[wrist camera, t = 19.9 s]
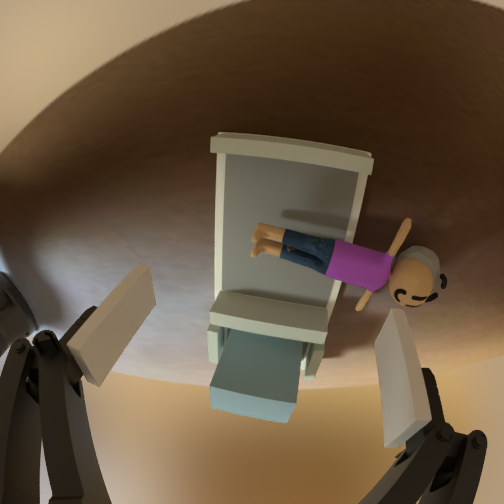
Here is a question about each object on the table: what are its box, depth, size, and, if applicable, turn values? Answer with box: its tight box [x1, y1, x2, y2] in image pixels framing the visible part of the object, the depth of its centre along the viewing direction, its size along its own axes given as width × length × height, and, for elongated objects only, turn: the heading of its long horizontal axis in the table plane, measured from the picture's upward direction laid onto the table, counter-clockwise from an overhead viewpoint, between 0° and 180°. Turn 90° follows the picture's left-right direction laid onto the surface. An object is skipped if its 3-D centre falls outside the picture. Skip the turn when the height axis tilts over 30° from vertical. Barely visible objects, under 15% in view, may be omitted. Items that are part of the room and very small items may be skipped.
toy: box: [251, 218, 447, 311], centre depth 19 cm, size 10×6×15 cm
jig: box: [207, 132, 374, 382], centre depth 23 cm, size 11×24×4 cm, turn 176°
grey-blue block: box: [210, 329, 303, 423], centre depth 24 cm, size 7×4×8 cm, turn 85°
